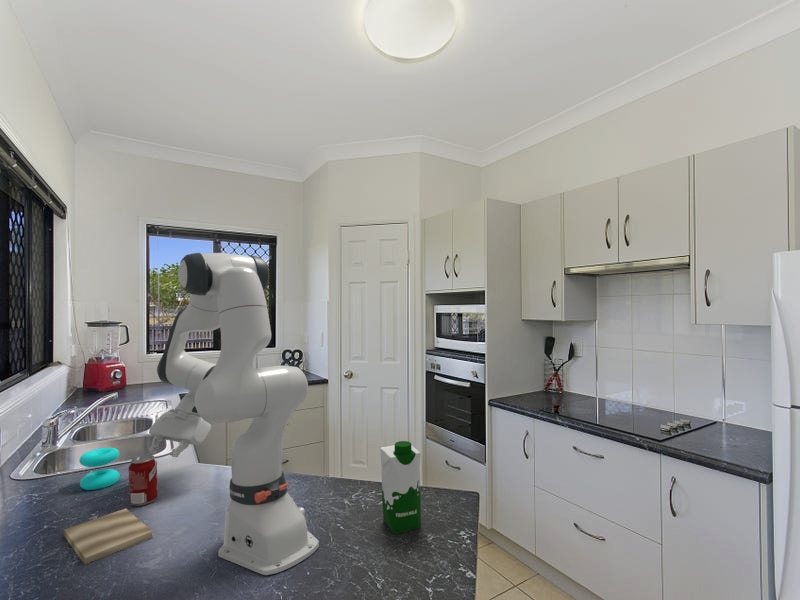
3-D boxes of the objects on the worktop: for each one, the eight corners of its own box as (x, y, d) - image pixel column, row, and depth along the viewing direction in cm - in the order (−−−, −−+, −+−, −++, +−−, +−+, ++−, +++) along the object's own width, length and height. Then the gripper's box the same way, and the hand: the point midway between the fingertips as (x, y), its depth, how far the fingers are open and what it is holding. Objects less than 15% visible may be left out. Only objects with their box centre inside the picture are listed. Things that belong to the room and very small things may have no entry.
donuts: (84, 460, 124) (75, 452, 130) (85, 494, 124) (76, 485, 130) (123, 450, 131) (113, 444, 138) (124, 483, 131) (114, 475, 138)
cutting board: (152, 537, 100) (152, 531, 100) (85, 564, 90) (84, 557, 90) (126, 514, 111) (125, 508, 111) (63, 535, 102) (63, 529, 102)
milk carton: (391, 537, 97) (388, 449, 97) (378, 518, 106) (376, 438, 106) (426, 529, 100) (423, 444, 101) (411, 511, 109) (409, 433, 109)
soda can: (144, 508, 114) (143, 463, 114) (123, 506, 116) (122, 462, 116) (163, 497, 121) (162, 454, 121) (142, 495, 122) (141, 453, 122)
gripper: (162, 403, 135) (131, 444, 126) (207, 409, 126) (178, 453, 117) (175, 414, 139) (146, 454, 130) (220, 420, 130) (193, 464, 121)
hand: (162, 454), depth 123 cm, fingers open, 8 cm apart
